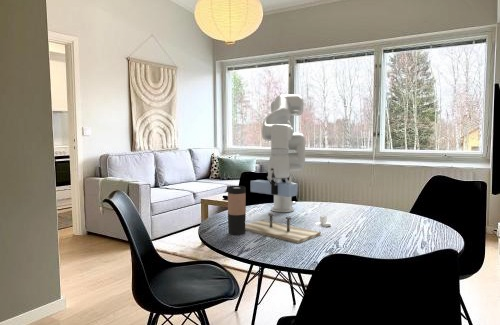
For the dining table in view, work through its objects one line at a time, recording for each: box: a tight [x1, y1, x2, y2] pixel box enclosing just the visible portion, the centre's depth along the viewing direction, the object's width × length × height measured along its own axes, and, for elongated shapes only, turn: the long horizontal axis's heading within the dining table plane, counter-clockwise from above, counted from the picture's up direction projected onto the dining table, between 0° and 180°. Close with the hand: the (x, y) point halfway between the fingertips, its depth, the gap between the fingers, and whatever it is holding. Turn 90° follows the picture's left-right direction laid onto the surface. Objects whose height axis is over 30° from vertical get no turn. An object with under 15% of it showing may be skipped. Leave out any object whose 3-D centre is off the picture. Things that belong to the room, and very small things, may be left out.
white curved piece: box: [314, 215, 333, 227], centre depth 180 cm, size 9×8×4 cm
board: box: [245, 212, 322, 244], centre depth 167 cm, size 16×32×7 cm, turn 47°
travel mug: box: [227, 185, 247, 236], centre depth 164 cm, size 8×8×20 cm
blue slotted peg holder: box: [250, 179, 298, 198], centre depth 171 cm, size 6×22×5 cm, turn 47°
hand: (279, 193), depth 169 cm, fingers closed on blue slotted peg holder, 6 cm apart
